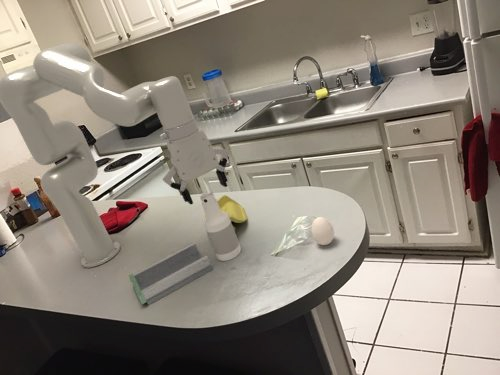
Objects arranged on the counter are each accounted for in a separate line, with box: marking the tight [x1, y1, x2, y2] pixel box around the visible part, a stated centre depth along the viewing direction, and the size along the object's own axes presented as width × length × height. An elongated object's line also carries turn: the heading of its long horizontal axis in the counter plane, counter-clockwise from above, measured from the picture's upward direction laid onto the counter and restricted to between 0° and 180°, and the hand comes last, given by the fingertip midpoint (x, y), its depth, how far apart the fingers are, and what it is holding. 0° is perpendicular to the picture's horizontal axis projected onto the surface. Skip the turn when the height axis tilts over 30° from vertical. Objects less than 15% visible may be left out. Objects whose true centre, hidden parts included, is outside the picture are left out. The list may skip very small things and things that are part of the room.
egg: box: [310, 216, 335, 246], centre depth 104 cm, size 5×5×7 cm
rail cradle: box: [128, 242, 214, 306], centre depth 112 cm, size 12×19×4 cm, turn 116°
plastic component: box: [204, 194, 248, 232], centre depth 128 cm, size 20×7×10 cm
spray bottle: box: [199, 191, 242, 262], centre depth 111 cm, size 7×7×18 cm
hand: (207, 194), depth 108 cm, fingers open, 9 cm apart
